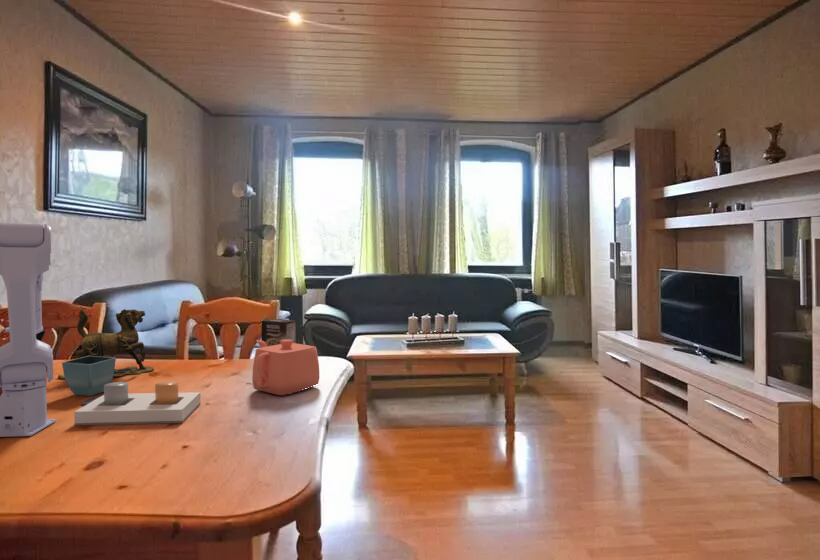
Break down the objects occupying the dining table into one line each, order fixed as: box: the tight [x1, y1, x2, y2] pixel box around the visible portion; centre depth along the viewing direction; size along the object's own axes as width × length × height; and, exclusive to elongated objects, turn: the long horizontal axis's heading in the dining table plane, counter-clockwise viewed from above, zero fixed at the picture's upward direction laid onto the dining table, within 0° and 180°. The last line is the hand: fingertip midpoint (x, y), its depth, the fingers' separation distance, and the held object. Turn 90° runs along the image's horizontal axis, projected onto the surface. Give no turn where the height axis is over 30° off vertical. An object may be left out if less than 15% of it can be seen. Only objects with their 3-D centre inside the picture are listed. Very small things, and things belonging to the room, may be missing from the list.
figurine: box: [57, 308, 155, 380], centre depth 155 cm, size 13×25×20 cm, turn 118°
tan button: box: [154, 380, 179, 404], centre depth 118 cm, size 5×5×4 cm
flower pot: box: [61, 355, 117, 397], centre depth 134 cm, size 9×9×9 cm
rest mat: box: [80, 396, 100, 407], centre depth 127 cm, size 6×6×1 cm
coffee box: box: [261, 318, 297, 346], centre depth 164 cm, size 9×6×16 cm
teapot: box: [251, 339, 320, 396], centre depth 142 cm, size 20×19×14 cm
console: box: [73, 391, 201, 427], centre depth 117 cm, size 14×22×3 cm, turn 97°
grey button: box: [103, 381, 129, 405], centre depth 117 cm, size 5×5×4 cm
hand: (28, 365), depth 121 cm, fingers open, 7 cm apart
